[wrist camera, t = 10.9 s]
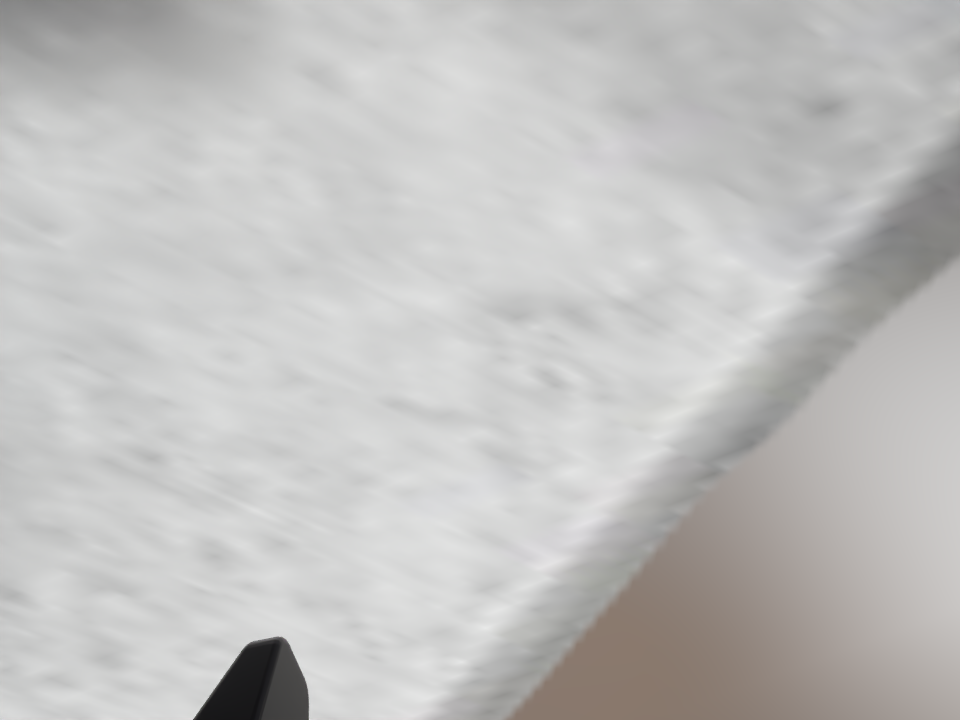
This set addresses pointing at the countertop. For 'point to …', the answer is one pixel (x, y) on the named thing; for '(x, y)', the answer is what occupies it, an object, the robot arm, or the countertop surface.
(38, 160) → the countertop surface
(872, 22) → the countertop surface
